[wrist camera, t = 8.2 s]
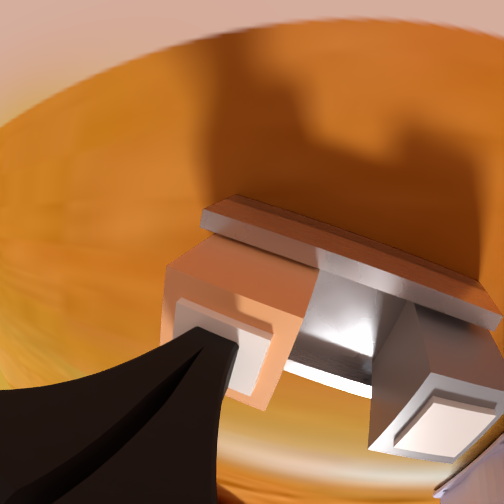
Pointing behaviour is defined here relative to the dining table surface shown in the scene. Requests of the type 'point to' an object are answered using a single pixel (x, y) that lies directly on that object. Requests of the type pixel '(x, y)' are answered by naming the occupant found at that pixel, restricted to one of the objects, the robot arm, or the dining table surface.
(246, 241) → the rail
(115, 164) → the dining table surface
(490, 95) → the dining table surface
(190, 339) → the robot arm
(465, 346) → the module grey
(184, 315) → the block
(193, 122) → the dining table surface
